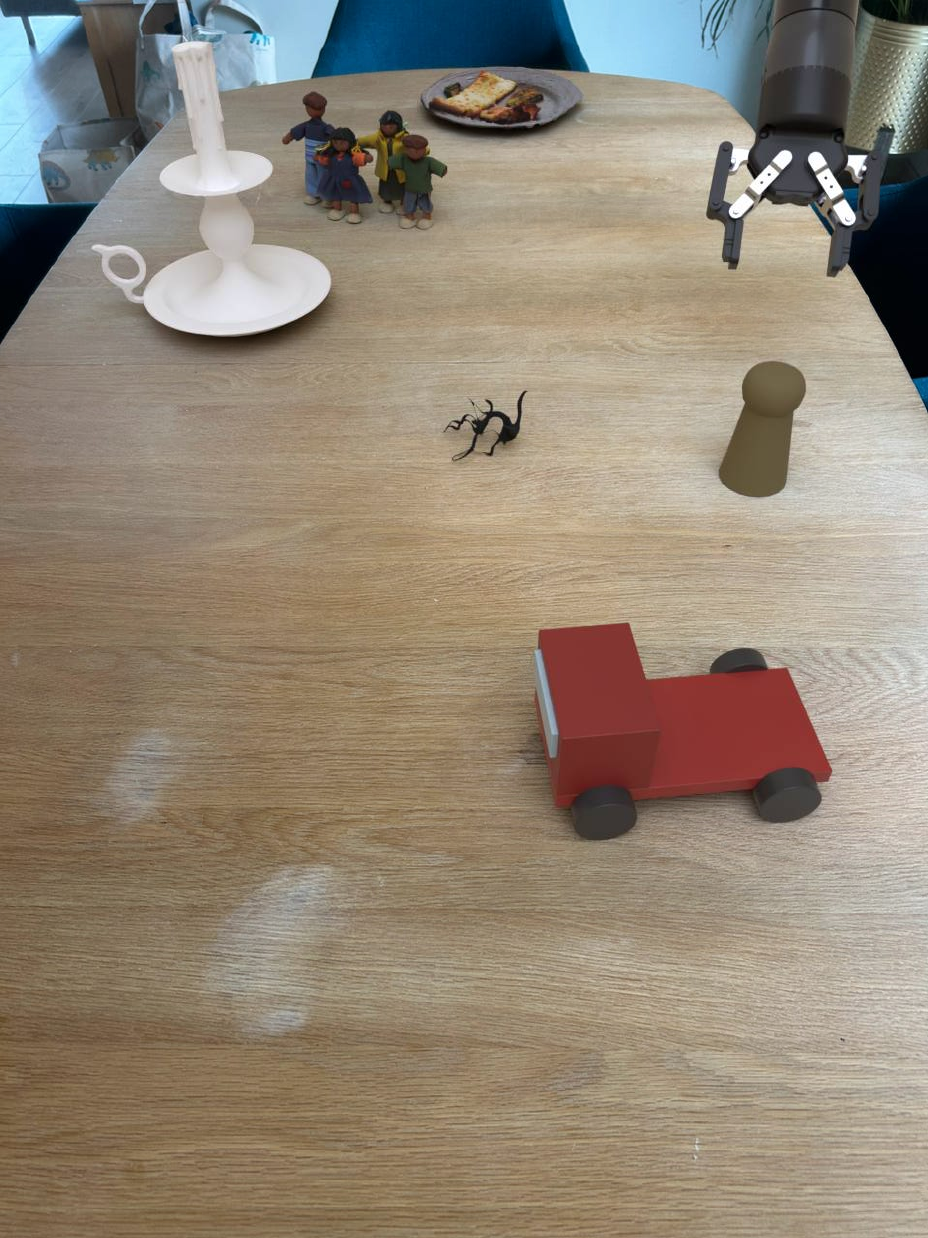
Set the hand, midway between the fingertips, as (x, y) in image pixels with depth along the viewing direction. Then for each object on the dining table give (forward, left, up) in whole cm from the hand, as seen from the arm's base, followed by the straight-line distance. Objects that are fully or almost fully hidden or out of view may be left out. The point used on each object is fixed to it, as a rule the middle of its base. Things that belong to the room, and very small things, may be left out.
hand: (782, 270), depth 88 cm
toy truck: (+18, +40, -15) cm, 46 cm away
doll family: (+36, -51, -15) cm, 64 cm away
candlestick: (+53, -26, -15) cm, 61 cm away
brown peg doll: (+3, +10, -15) cm, 18 cm away
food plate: (+14, -85, -15) cm, 87 cm away
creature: (+27, +2, -15) cm, 31 cm away
